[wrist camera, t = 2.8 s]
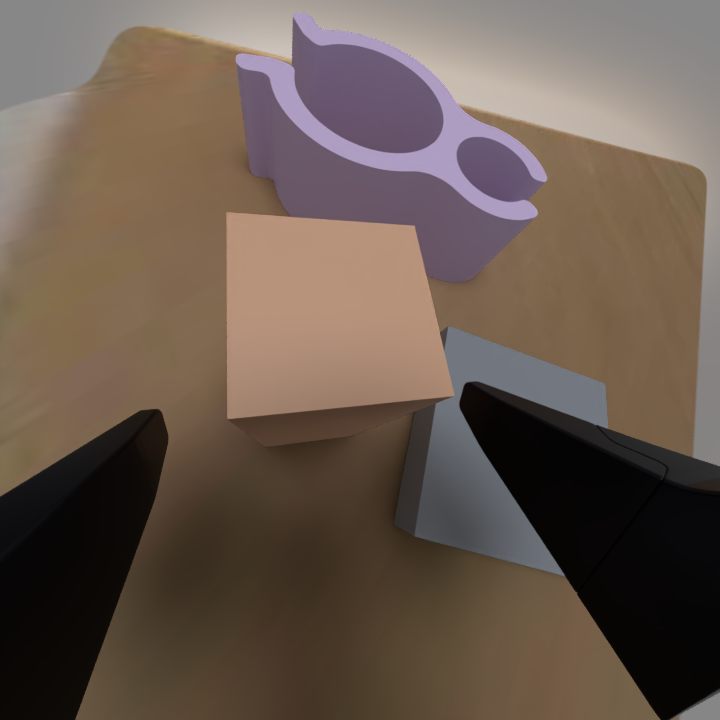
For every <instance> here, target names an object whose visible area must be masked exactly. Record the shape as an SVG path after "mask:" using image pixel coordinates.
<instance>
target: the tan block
mask: <svg viewBox="0 0 720 720" xmlns="http://www.w3.org/2000/svg"><path fill="white" fill-rule="evenodd" d="M454 396H455V395H454V391H453V386H452V382H451V378H450V374H449V370H448V365H447V361H446V357H445V353H444V348H443V344H442V340H441V336H440V331H439V327H438V323H437V319H436V314H435V310H434V306H433V302H432V297H431V293H430V289H429V285H428V280H427V276H426V272H425V268H424V264H423V259H422V255H421V251H420V247H419V242H418V238H417V234H416V230H415V226H411V225H397V224H383V223H369V222H355V221H341V220H327V219H313V218H298V217H284V216H270V215H256V214H242V213H228V212H227V419H228V420H229V421H230V422H232V423H233V424H235V425H236V426H237V427H239V428H240V429H241V430H243V431H244V432H246V433H247V434H248V435H250V436H251V437H253V438H254V439H255V440H257V441H258V442H259V443H261V444H262V445H264V446H265V447H272V446H280V445H287V444H295V443H303V442H311V441H318V440H326V439H334V438H342V437H349V436H353V435H356V434H358V433H361V432H363V431H366V430H369V429H371V428H374V427H376V426H379V425H382V424H384V423H387V422H389V421H392V420H394V419H397V418H400V417H402V416H405V415H407V414H410V413H412V412H415V411H418V410H420V409H423V408H425V407H428V406H430V405H433V404H436V403H438V402H441V401H443V400H446V399H449V398H451V397H454Z"/></svg>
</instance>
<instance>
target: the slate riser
mask: <svg viewBox="0 0 720 720" xmlns="http://www.w3.org/2000/svg"><path fill="white" fill-rule="evenodd" d="M440 336H441V340H442V344H443V348H444V353H445V357H446V361H447V365H448V370H449V374H450V378H451V382H452V386H453V391H454V395H455V396H454V397H451V398H449V399H446V400H443V401H441V402H438V403H436V404H433V405H430V406H428V407H425V408H423V409H420V410H418V411H415V412H414V417H413V423H412V428H411V433H410V439H409V444H408V449H407V455H406V460H405V465H404V471H403V476H402V481H401V486H400V492H399V497H398V502H397V508H396V513H395V518H394V525H395V526H397V527H399V528H400V529H402V530H404V531H406V532H407V533H409V534H411V535H412V536H414V537H418V538H422V539H425V540H429V541H433V542H437V543H441V544H444V545H448V546H452V547H456V548H460V549H464V550H467V551H471V552H475V553H479V554H483V555H486V556H490V557H494V558H498V559H502V560H506V561H509V562H513V563H517V564H521V565H525V566H528V567H532V568H536V569H540V570H544V571H547V572H551V573H555V574H559V575H563V576H565V575H564V574H563V572H562V570H561V569H560V567H559V566H558V564H557V563H556V561H555V560H554V558H553V557H552V555H551V554H550V552H549V551H548V549H547V548H546V546H545V545H544V543H543V542H542V540H541V539H540V537H539V536H538V534H537V533H536V531H535V530H534V528H533V527H532V525H531V524H530V522H529V521H528V519H527V517H526V516H525V514H524V513H523V511H522V510H521V508H520V507H519V505H518V504H517V502H516V501H515V499H514V498H513V496H512V495H511V493H510V492H509V490H508V489H507V487H506V486H505V484H504V483H503V481H502V480H501V478H500V477H499V475H498V474H497V472H496V471H495V469H494V467H493V466H492V464H491V463H490V461H489V460H488V458H487V457H486V455H485V454H484V452H483V451H482V449H481V447H480V446H479V444H478V442H477V440H476V439H475V437H474V435H473V433H472V431H471V429H470V427H469V425H468V423H467V421H466V420H465V418H464V416H463V414H462V412H461V410H460V407H459V401H460V398H461V394H462V390H463V387H464V384H465V383H467V382H473V381H478V382H481V383H484V384H487V385H489V386H492V387H495V388H498V389H500V390H503V391H506V392H509V393H511V394H514V395H517V396H519V397H522V398H525V399H528V400H530V401H533V402H536V403H539V404H541V405H544V406H547V407H549V408H552V409H555V410H558V411H560V412H563V413H566V414H569V415H571V416H574V417H577V418H579V419H582V420H585V421H588V422H590V423H593V424H594V425H599V426H601V427H604V428H607V429H608V419H607V405H606V390H605V384H604V383H602V382H599V381H596V380H594V379H591V378H588V377H585V376H583V375H580V374H577V373H575V372H572V371H569V370H566V369H564V368H561V367H558V366H556V365H553V364H550V363H548V362H545V361H542V360H539V359H537V358H534V357H531V356H529V355H526V354H523V353H520V352H518V351H515V350H512V349H510V348H507V347H504V346H501V345H499V344H496V343H493V342H491V341H488V340H485V339H482V338H480V337H477V336H474V335H472V334H469V333H466V332H464V331H461V330H458V329H455V328H453V327H450V326H448V327H447V328H445V329H444V330H443V331H442V332H441V333H440Z"/></svg>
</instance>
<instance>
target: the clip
mask: <svg viewBox="0 0 720 720" xmlns="http://www.w3.org/2000/svg"><path fill="white" fill-rule="evenodd" d="M236 64H237V72H238V80H239V88H240V96H241V104H242V112H243V120H244V128H245V136H246V144H247V152H248V160H249V168H250V173H251V174H252V175H254V176H256V177H268V178H271V179H272V180H273V181H274V183H275V188H276V192H277V195H278V197H279V200H280V202H281V203H282V205H283V207H284V208H285V210H286V211H287V212H288V214H289V215H290V216H291V217H298V218H313V219H327V220H341V221H355V222H369V223H383V224H397V225H411V226H415V230H416V234H417V238H418V242H419V247H420V251H421V255H422V259H423V264H424V268H425V272H426V274H427V275H429V276H431V277H433V278H436V279H438V280H442V281H446V282H464V281H468V280H470V279H472V278H474V277H475V276H476V275H477V274H478V273H479V272H480V271H481V270H482V269H483V268H484V267H485V266H486V265H487V264H488V263H489V262H490V261H491V260H492V259H493V258H494V257H495V256H496V255H497V254H498V253H499V252H500V251H501V250H502V249H503V248H504V247H505V246H506V245H507V244H508V243H509V242H510V241H511V240H512V239H513V238H515V237H516V236H517V235H518V234H519V233H520V232H521V231H522V230H523V229H524V228H525V227H526V226H527V225H528V224H529V223H530V222H531V221H532V220H533V219H534V218H535V217H536V216H537V214H538V212H537V209H536V208H535V207H534V206H533V205H532V204H531V203H530V202H529V201H528V200H529V199H530V198H531V197H532V196H533V195H534V194H535V193H536V191H537V190H538V189H539V188H540V187H541V186H542V185H543V184H544V183H545V182H546V181H547V176H546V174H545V172H544V170H543V168H542V166H541V165H540V163H539V162H538V160H537V159H536V158H535V157H534V155H533V154H532V153H531V152H530V151H529V150H528V149H527V148H526V147H525V146H524V145H523V144H521V143H520V142H519V141H518V140H516V139H515V138H513V137H512V136H510V135H509V134H507V133H505V132H503V131H501V130H499V129H497V128H495V127H492V126H489V125H486V124H484V123H481V122H479V121H477V120H476V119H474V118H472V117H471V116H469V115H468V114H467V113H466V112H464V111H463V110H462V109H461V108H460V107H459V106H458V104H457V103H456V102H455V100H454V99H453V97H452V96H451V94H450V93H449V91H448V90H447V88H446V87H445V86H444V85H443V83H442V82H441V81H440V80H439V79H438V78H437V77H436V76H435V75H434V74H433V73H432V72H431V71H430V70H429V69H427V68H426V67H425V66H424V65H422V64H421V63H420V62H418V61H417V60H416V59H414V58H412V57H411V56H410V55H408V54H406V53H404V52H403V51H401V50H399V49H397V48H395V47H393V46H391V45H389V44H387V43H384V42H382V41H380V40H377V39H374V38H371V37H368V36H364V35H361V34H356V33H352V32H345V31H335V30H324V29H322V28H320V27H319V26H318V25H317V24H316V22H315V21H314V19H313V18H312V17H311V16H310V15H308V14H305V13H294V14H293V41H292V66H291V65H289V64H287V63H285V62H282V61H279V60H276V59H274V58H269V57H263V56H257V55H250V54H243V53H242V54H238V55H237V56H236Z"/></svg>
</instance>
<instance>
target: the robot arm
mask: <svg viewBox="0 0 720 720" xmlns="http://www.w3.org/2000/svg"><path fill="white" fill-rule="evenodd" d="M459 407H460V410H461V412H462V414H463V416H464V418H465V420H466V421H467V423H468V425H469V427H470V429H471V431H472V433H473V435H474V437H475V439H476V440H477V442H478V444H479V446H480V447H481V449H482V451H483V452H484V454H485V455H486V457H487V458H488V460H489V461H490V463H491V464H492V466H493V467H494V469H495V471H496V472H497V474H498V475H499V477H500V478H501V480H502V481H503V483H504V484H505V486H506V487H507V489H508V490H509V492H510V493H511V495H512V496H513V498H514V499H515V501H516V502H517V504H518V505H519V507H520V508H521V510H522V511H523V513H524V514H525V516H526V517H527V519H528V521H529V522H530V524H531V525H532V527H533V528H534V530H535V531H536V533H537V534H538V536H539V537H540V539H541V540H542V542H543V543H544V545H545V546H546V548H547V549H548V551H549V552H550V554H551V555H552V557H553V558H554V560H555V561H556V563H557V564H558V566H559V567H560V569H561V570H562V572H563V574H564V575H565V577H566V578H567V580H568V581H569V583H570V584H571V586H572V587H573V589H574V590H575V592H577V595H578V597H579V598H580V600H581V601H582V603H583V604H584V606H585V607H586V609H587V610H588V612H589V613H590V615H591V616H592V618H593V619H594V621H595V622H596V624H597V625H598V627H599V629H600V630H601V632H602V633H603V635H604V636H605V638H606V639H607V641H608V642H609V644H610V645H611V647H612V648H613V650H614V651H615V653H616V654H617V656H618V657H619V659H620V660H621V662H622V663H623V665H624V666H625V668H626V669H627V671H628V673H629V674H630V676H631V677H632V679H633V680H634V682H635V683H636V685H637V686H638V688H639V689H640V691H641V692H642V694H643V695H644V697H645V698H646V700H647V701H648V703H649V704H650V706H651V707H652V709H653V710H654V712H655V713H656V714H657V716H658V717H659V718H660V719H661V720H671V719H673V718H674V717H676V716H678V715H680V714H682V713H683V712H685V711H687V710H689V709H691V708H692V707H694V706H696V705H698V704H700V703H701V702H703V701H705V700H706V699H709V698H710V697H712V696H714V695H716V694H718V693H719V692H720V466H717V465H714V464H711V463H708V462H705V461H701V460H698V459H695V458H692V457H689V456H686V455H683V454H680V453H677V452H674V451H671V450H668V449H665V448H662V447H659V446H656V445H653V444H650V443H647V442H644V441H641V440H638V439H635V438H632V437H629V436H626V435H624V434H621V433H618V432H615V431H612V430H610V429H607V428H604V427H601V426H599V425H594V424H593V423H590V422H588V421H585V420H582V419H579V418H577V417H574V416H571V415H569V414H566V413H563V412H560V411H558V410H555V409H552V408H549V407H547V406H544V405H541V404H539V403H536V402H533V401H530V400H528V399H525V398H522V397H519V396H517V395H514V394H511V393H509V392H506V391H503V390H500V389H498V388H495V387H492V386H489V385H487V384H484V383H481V382H478V381H473V382H467V383H465V384H464V387H463V390H462V394H461V398H460V401H459ZM167 445H168V432H167V429H166V425H165V422H164V418H163V415H162V412H161V411H160V410H159V409H150V410H141V411H139V412H137V413H135V414H134V415H132V416H131V417H129V418H127V419H126V420H124V421H122V422H121V423H119V424H118V425H116V426H114V427H113V428H111V429H109V430H108V431H106V432H105V433H103V434H101V435H100V436H98V437H96V438H95V439H93V440H92V441H90V442H88V443H87V444H85V445H83V446H82V447H80V448H79V449H77V450H75V451H74V452H72V453H70V454H69V455H67V456H66V457H64V458H62V459H61V460H59V461H57V462H56V463H54V464H53V465H51V466H49V467H48V468H46V469H44V470H43V471H41V472H40V473H38V474H36V475H35V476H33V477H31V478H30V479H28V480H27V481H25V482H23V483H22V484H20V485H18V486H17V487H15V488H14V489H12V490H10V491H9V492H7V493H5V494H4V495H2V496H1V497H0V720H75V719H76V716H77V713H78V711H79V708H80V705H81V702H82V699H83V697H84V694H85V691H86V688H87V686H88V683H89V680H90V677H91V675H92V672H93V669H94V666H95V664H96V661H97V658H98V655H99V652H100V650H101V647H102V644H103V641H104V639H105V636H106V633H107V630H108V628H109V625H110V622H111V619H112V617H113V614H114V611H115V608H116V606H117V603H118V600H119V597H120V594H121V592H122V589H123V586H124V583H125V581H126V578H127V575H128V572H129V570H130V567H131V564H132V561H133V559H134V556H135V553H136V550H137V548H138V545H139V542H140V539H141V536H142V534H143V531H144V528H145V525H146V523H147V520H148V517H149V514H150V512H151V509H152V506H153V503H154V500H155V497H156V493H157V489H158V485H159V480H160V476H161V472H162V467H163V463H164V458H165V454H166V450H167Z"/></svg>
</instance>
